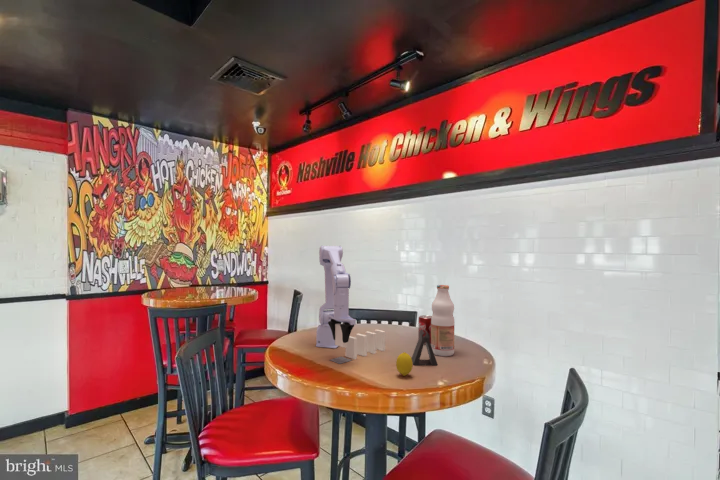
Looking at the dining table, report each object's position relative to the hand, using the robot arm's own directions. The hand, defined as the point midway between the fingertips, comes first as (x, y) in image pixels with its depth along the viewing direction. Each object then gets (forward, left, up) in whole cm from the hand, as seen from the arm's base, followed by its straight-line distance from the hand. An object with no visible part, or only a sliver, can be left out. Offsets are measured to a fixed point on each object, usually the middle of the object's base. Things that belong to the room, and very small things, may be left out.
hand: (340, 340), depth 137 cm
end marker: (0, 0, -8) cm, 8 cm away
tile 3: (+5, +10, -8) cm, 13 cm away
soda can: (+29, +36, -8) cm, 47 cm away
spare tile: (0, 0, -2) cm, 2 cm away
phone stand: (+31, +7, -8) cm, 33 cm away
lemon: (+26, -9, -8) cm, 29 cm away
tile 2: (+8, +14, -8) cm, 18 cm away
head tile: (+11, +19, -8) cm, 23 cm away
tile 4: (+3, +5, -8) cm, 9 cm away
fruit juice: (+37, +22, -8) cm, 44 cm away
